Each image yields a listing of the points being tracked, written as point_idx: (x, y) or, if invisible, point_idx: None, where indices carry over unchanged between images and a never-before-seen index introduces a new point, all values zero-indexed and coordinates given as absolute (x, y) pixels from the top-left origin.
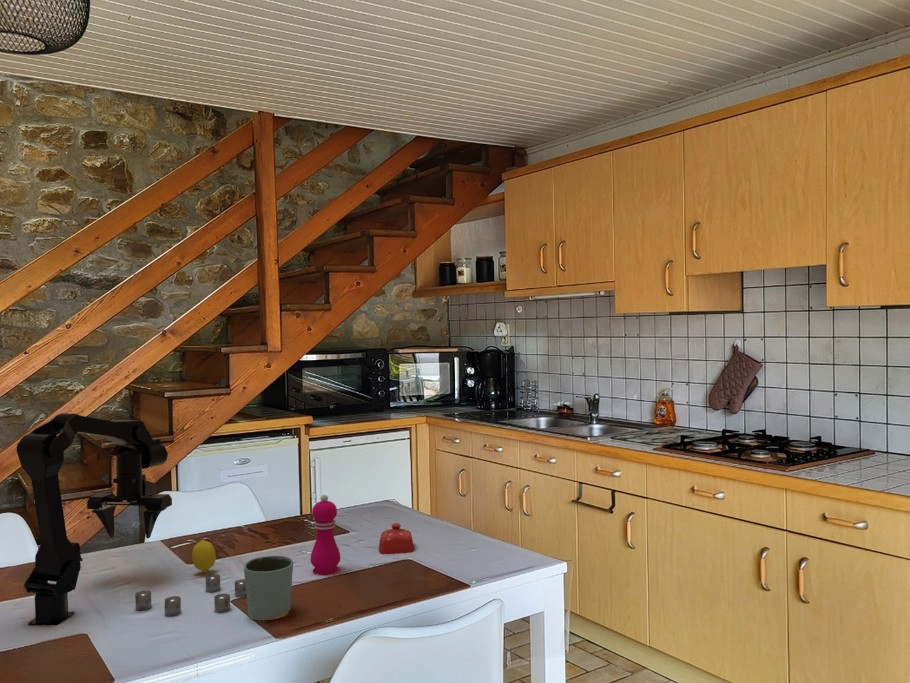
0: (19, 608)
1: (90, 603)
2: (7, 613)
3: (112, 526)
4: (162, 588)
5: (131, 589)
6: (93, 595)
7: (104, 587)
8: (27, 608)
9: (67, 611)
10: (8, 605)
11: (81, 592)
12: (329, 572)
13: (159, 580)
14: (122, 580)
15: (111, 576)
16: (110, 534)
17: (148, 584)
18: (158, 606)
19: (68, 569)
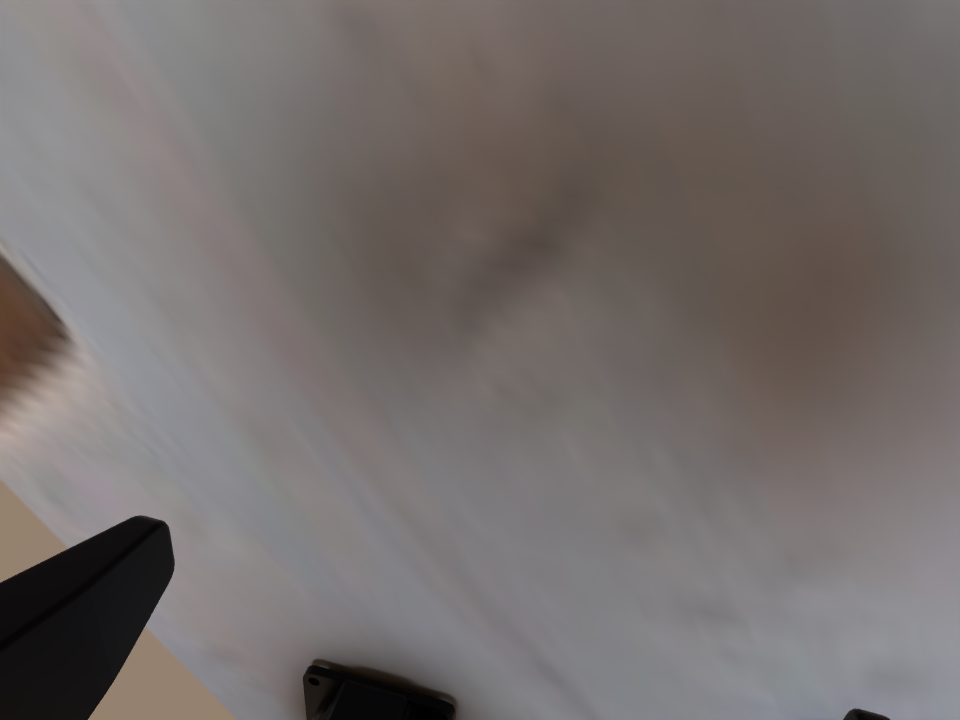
0: None
1: (451, 577)
2: None
3: (22, 694)
4: (914, 421)
5: (631, 399)
6: (397, 461)
7: (389, 322)
8: None
9: (414, 713)
10: (33, 508)
11: (282, 395)
12: None
13: (849, 204)
14: (458, 165)
15: (293, 30)
16: (139, 634)
17: (753, 305)
18: (926, 714)
19: None
